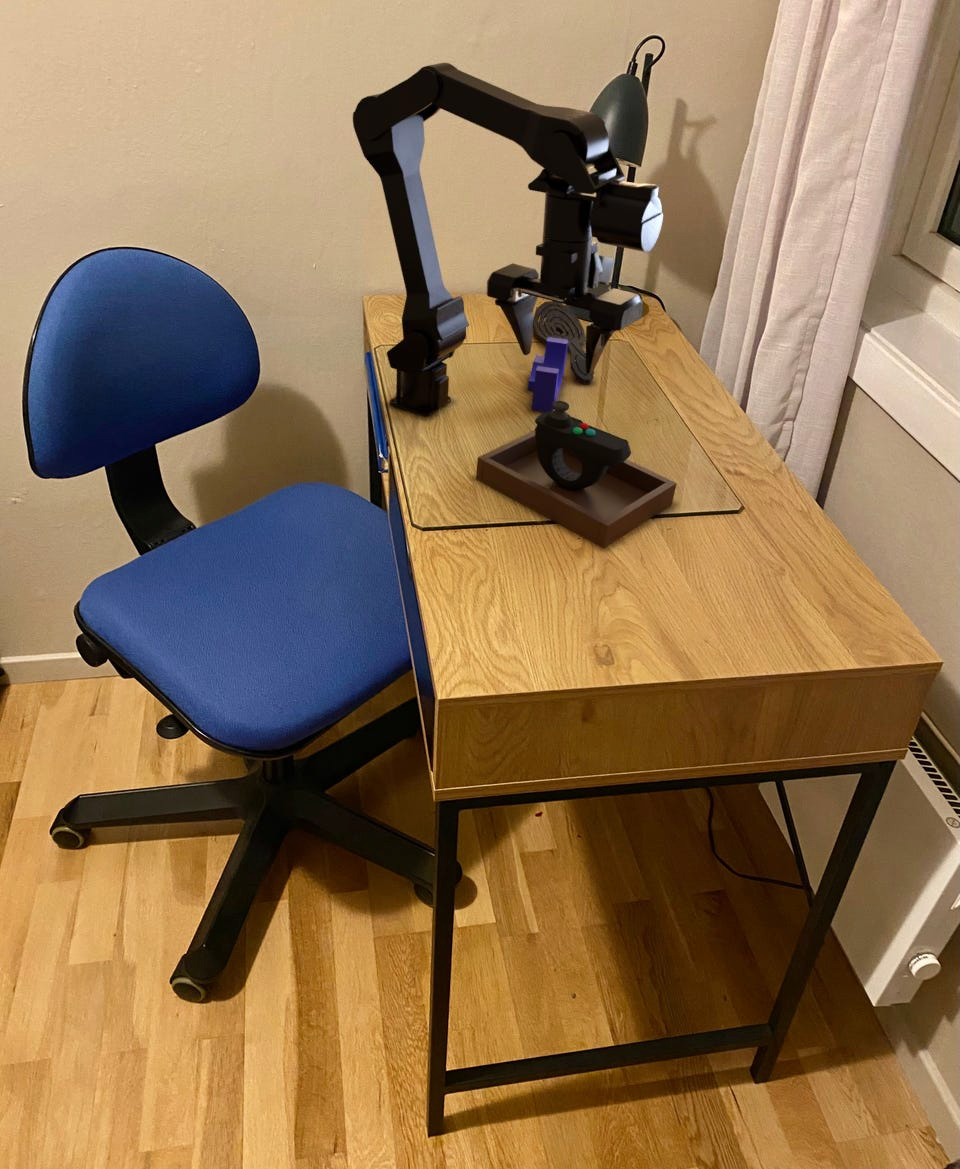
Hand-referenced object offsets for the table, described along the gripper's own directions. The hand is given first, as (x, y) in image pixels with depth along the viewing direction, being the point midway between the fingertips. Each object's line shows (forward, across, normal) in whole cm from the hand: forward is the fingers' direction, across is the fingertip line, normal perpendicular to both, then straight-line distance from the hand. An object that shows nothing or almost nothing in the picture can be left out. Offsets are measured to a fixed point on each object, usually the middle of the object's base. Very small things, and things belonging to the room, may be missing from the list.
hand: (557, 363), depth 119 cm
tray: (+12, -8, +7) cm, 16 cm away
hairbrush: (+12, +15, -29) cm, 35 cm away
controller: (+12, -8, +7) cm, 16 cm away
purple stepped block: (+12, +10, -14) cm, 21 cm away
